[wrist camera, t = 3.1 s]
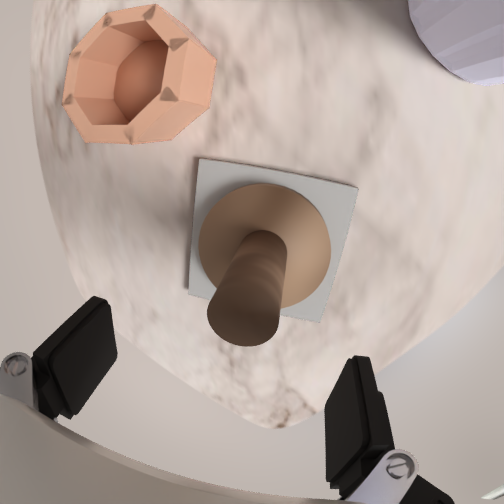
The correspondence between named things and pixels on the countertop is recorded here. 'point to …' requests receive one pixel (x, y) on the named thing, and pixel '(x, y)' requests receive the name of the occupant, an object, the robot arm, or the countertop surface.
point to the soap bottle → (463, 36)
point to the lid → (261, 259)
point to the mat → (314, 189)
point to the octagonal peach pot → (137, 78)
